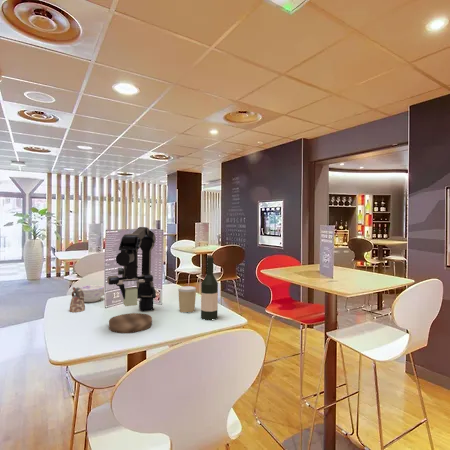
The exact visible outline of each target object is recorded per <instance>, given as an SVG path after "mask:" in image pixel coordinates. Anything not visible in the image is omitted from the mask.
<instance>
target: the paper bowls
mask: <svg viewBox="0 0 450 450" xmlns="http://www.w3.org/2000/svg"><path fill="white" fill-rule="evenodd" d="M79 287H80V288H81V289H82V291H83V293H84V297H83V298H84V303H95V302H99V301H100V300H101V298H102V297H103V296H105V294H104V287H105V285H99V284H96V285H95V284H93V285H90V284H89V285H84V286H83V285H82V286H79Z"/></svg>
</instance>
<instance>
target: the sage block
mask: <svg viewBox="0 0 450 450" xmlns="http://www.w3.org/2000/svg"><path fill="white" fill-rule="evenodd" d="M136 287H137V286H133V287H132V286H130V287H129V286H128V287H124V288H125V299H122V300H123V302H122V303H123V305H124V306H125V307H131V306H138V298H137V294H138V289H137V288H136Z"/></svg>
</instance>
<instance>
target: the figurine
mask: <svg viewBox="0 0 450 450" xmlns="http://www.w3.org/2000/svg"><path fill="white" fill-rule="evenodd" d="M80 287H81V286H78V287H75V286H73V287H72V290H73V291H72V292H71V300H70V303H69V312H70V313H80V312H84V311H85V310H86V305H85V304H86V303H85V302H84V298H83V297H84V293H83V291H82V289H81V288H80Z"/></svg>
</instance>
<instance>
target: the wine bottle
mask: <svg viewBox="0 0 450 450" xmlns="http://www.w3.org/2000/svg"><path fill="white" fill-rule="evenodd" d="M200 286H201V287H200V288H201V289H200V294H201V295H200V296H201V297H200V319H201V318H202V319H201V320H203V319H205V320H204V321H213V320H212V319H215V320H217V319H218V311H219V310H218V309H219V308H218V306H219V305H218V302H219V301H218V300H219V299H218V296H219V295H218V294H219V293H218V292H219V291H218V290H219V282H218V281H217V279H216V277H215V276H214V257H213V255H207V257H206V275H205V276H204V279H203V280H202V282H201V284H200ZM216 318H217V319H216Z"/></svg>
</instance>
